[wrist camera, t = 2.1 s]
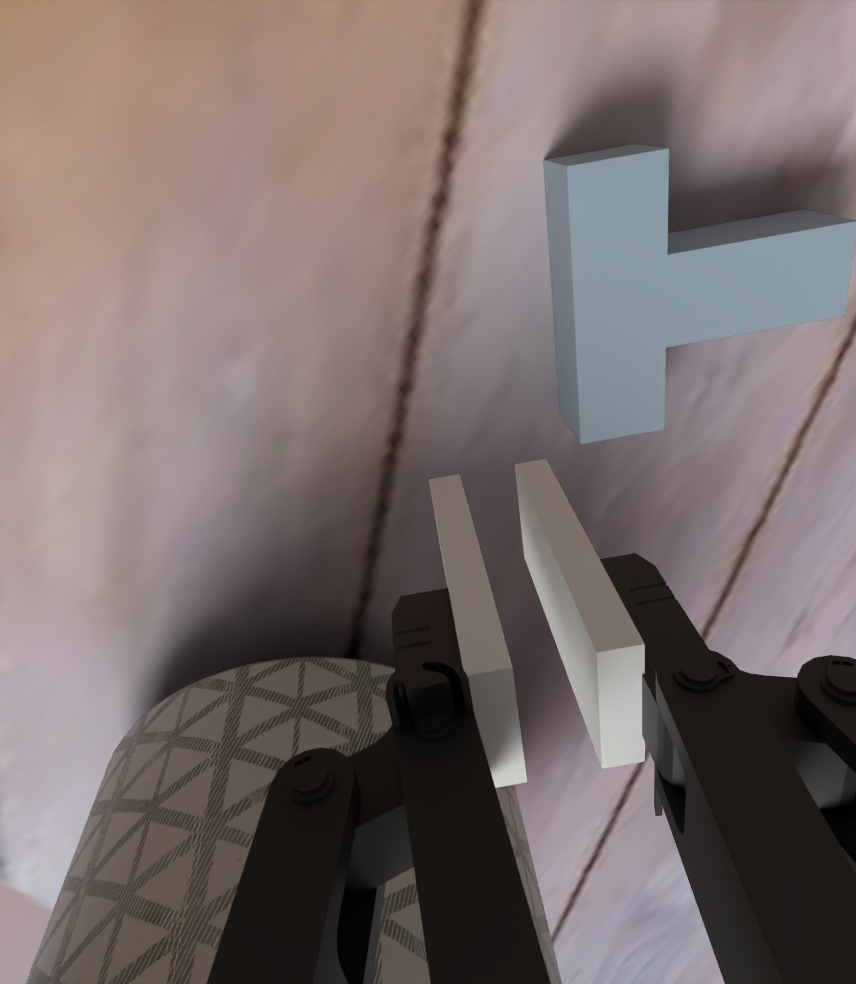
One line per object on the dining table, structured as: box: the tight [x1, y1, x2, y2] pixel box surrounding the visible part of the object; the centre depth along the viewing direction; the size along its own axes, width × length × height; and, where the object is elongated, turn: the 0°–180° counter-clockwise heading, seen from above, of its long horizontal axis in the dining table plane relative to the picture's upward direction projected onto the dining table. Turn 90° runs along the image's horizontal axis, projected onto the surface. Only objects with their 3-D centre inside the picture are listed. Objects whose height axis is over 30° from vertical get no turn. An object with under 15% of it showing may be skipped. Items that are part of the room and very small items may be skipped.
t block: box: [543, 144, 856, 444], centre depth 31 cm, size 12×12×4 cm
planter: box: [26, 657, 562, 984], centre depth 36 cm, size 25×25×24 cm
